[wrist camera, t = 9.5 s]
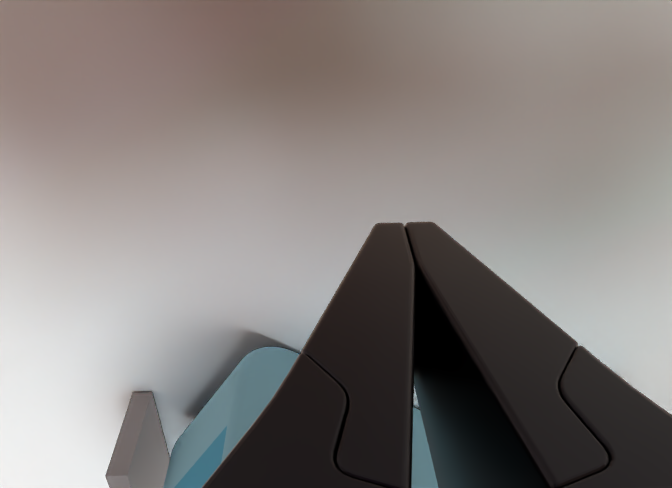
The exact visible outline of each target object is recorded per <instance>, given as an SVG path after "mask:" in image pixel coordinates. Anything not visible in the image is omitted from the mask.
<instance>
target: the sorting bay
mask: <svg viewBox="0 0 672 488" xmlns="http://www.w3.org/2000/svg"><path fill="white" fill-rule="evenodd" d="M169 461H170V457H169V454H168V450H167V446H166V442H165V439H164V435H163V431H162V427H161V424H160V420H159V416H158V412H157V409H156V405H155V401H154V398H153V394H152V392H138V393H133V394H132V397H131V400H130V403H129V406H128V409H127V412H126V415H125V418H124V421H123V424H122V427H121V430H120V433H119V436H118V439H117V442H116V445H115V448H114V451H113V454H112V457H111V460H110V464H109V467H108V470H107V473H106V479H107V482H108V485H109V487H110V488H163V486H164V482H165V478H166V474H167V469H168V465H169Z"/></svg>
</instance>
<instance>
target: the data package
mask: <svg viewBox="0 0 672 488" xmlns="http://www.w3.org/2000/svg"><path fill="white" fill-rule="evenodd" d="M298 355H299V354H298V353H296V352H293V351H291V350H288V349H284V348H280V347H263V348H258V349H256V350H253V351H252V352H250V353H248V354H247V355H246V356H245V357H244V358H243V359H242V360H241V361H240V362H239V364H238V365H237V366H236V367H235V369H234V370H233V371H232V372H231V374H230V375H229V376H228V377H227V379H226V380H225V381H224V382H223V384H222V385H221V386H220V387H219V389H218V390H217V391H216V392H215V394H214V395H213V396H212V397H211V399H210V400H209V401H208V402H207V404H206V405H205V406H204V407H203V409H202V410H201V411H200V412H199V414H198V415H197V416H196V417H195V419H194V420H193V421H192V422H191V424H190V425H189V426H188V427H187V429H186V430H185V431H184V432H183V434H182V435H181V436H180V437H179V439H178V440H177V442H176V443H175V445H174V447H173V450H172V453H171V457H170V461H169V465H168V469H167V474H166V478H165V482H164V486H163V488H201V487H202V486H203V485H204V484H205V483H206V481H207V480H208V479H209V478H210V476H211V475H212V474H213V473H214V471H215V470H216V469H217V468H218V466H219V465H220V464H221V463H222V461H223V460H224V459H225V458H226V457H227V455H228V454H229V453H230V452H231V450H232V449H233V448H234V447H235V445H236V444H237V443H238V442H239V440H240V439H241V438H242V437H243V436H244V434H245V433H246V432H247V431H248V429H249V428H250V427H251V425H252V424H253V423H254V421H255V420H256V419H257V418H258V416H259V415H260V414H261V412H262V411H263V410H264V408H265V407H266V406H267V404H268V403H269V402H270V400H271V399H272V397H273V396H274V394H275V393H276V391H277V390H278V388H279V387H280V385H281V383H282V382H283V380H284V379H285V377H286V376H287V374H288V373H289V371H290V369H291V367H292V366H293V364H294V362H295V361H296V359H297V357H298ZM412 488H438V484H437V479H436V475H435V471H434V467H433V462H432V458H431V454H430V450H429V445H428V441H427V437H426V433H425V428H424V424H423V420H422V416H421V412H420V410H418V409H416V408H414V407H413V443H412Z"/></svg>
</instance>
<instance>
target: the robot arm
mask: <svg viewBox="0 0 672 488" xmlns="http://www.w3.org/2000/svg"><path fill="white" fill-rule="evenodd" d="M414 386H415V390H416V395H417V399H418V403H419V407H420V412H421V416H422V420H423V424H424V428H425V433H426V437H427V441H428V445H429V450H430V454H431V458H432V462H433V467H434V471H435V475H436V479H437V484H438V488H672V415H671V414H670V413H668V412H667V411H665V410H664V409H663V408H661V407H660V406H658V405H657V404H656V403H654V402H653V401H652V400H650V399H649V398H647V397H646V396H645V395H643V394H642V393H640V392H639V391H638V390H636V389H635V388H633V387H632V386H631V385H630V384H628V383H627V382H626V381H625V380H623V379H622V378H621V377H620V376H618V375H617V374H616V373H615V372H613V371H612V370H611V369H609V368H608V367H607V366H606V365H604V364H603V363H602V362H601V361H599V360H598V359H597V358H596V357H595V356H593V355H592V354H591V353H590V352H589V351H587V350H586V349H585V348H584V347H583V346H578V343H577V342H576V341H575V340H574V339H573V338H572V337H570V336H569V335H568V334H567V333H566V332H564V331H563V330H562V329H561V328H560V327H558V326H557V325H556V324H555V323H554V322H552V321H551V320H550V319H549V318H548V317H546V316H545V315H544V314H543V313H542V312H540V311H539V310H538V309H537V308H536V307H534V306H533V305H532V304H531V303H530V302H528V301H527V300H526V299H525V298H524V297H522V296H521V295H520V294H519V293H518V292H517V291H515V290H514V289H513V288H512V287H511V286H509V285H508V284H507V283H506V282H505V281H503V280H502V279H501V278H500V277H499V276H497V275H496V274H495V273H494V272H493V271H491V270H490V269H489V268H488V267H487V266H485V265H484V264H483V263H482V262H481V261H479V260H478V259H477V258H476V257H475V256H473V255H472V254H471V253H470V252H469V251H467V250H466V249H465V248H464V247H463V246H461V245H460V244H459V243H458V242H457V241H455V240H454V239H453V238H452V237H451V236H449V235H448V234H447V233H446V232H445V231H443V230H442V229H441V228H440V227H439V226H437V225H436V224H435V223H433V222H409V223H407V224H406V225H405V227H404V225H403V224H402V223H377V224H376V225H375V226H374V227H373V229H372V230H371V232H370V234H369V236H368V237H367V239H366V241H365V243H364V244H363V246H362V248H361V249H360V251H359V253H358V255H357V256H356V258H355V260H354V261H353V263H352V265H351V267H350V268H349V270H348V272H347V273H346V275H345V277H344V279H343V280H342V282H341V284H340V285H339V287H338V289H337V291H336V292H335V294H334V296H333V297H332V299H331V301H330V303H329V304H328V306H327V308H326V310H325V311H324V313H323V315H322V316H321V318H320V320H319V322H318V323H317V325H316V327H315V328H314V330H313V332H312V334H311V335H310V337H309V339H308V340H307V342H306V344H305V346H304V347H303V349H302V351H301V354H299V355H298V357H297V359H296V361H295V362H294V364H293V366H292V367H291V369H290V371H289V373H288V374H287V376H286V377H285V379H284V380H283V382H282V383H281V385H280V387H279V388H278V390H277V391H276V393H275V394H274V396H273V397H272V399H271V400H270V402H269V403H268V404H267V406H266V407H265V408H264V410H263V411H262V412H261V414H260V415H259V416H258V418H257V419H256V420H255V421H254V423H253V424H252V425H251V427H250V428H249V429H248V431H247V432H246V433H245V434H244V436H243V437H242V438H241V439H240V440H239V442H238V443H237V444H236V445H235V447H234V448H233V449H232V450H231V452H230V453H229V454H228V455H227V457H226V458H225V459H224V460H223V461H222V463H221V464H220V465H219V466H218V468H217V469H216V470H215V471H214V473H213V474H212V475H211V476H210V478H209V479H208V480H207V481H206V483H205V484H204V485H203V486H202V487H201V488H412V443H413V397H414Z"/></svg>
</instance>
